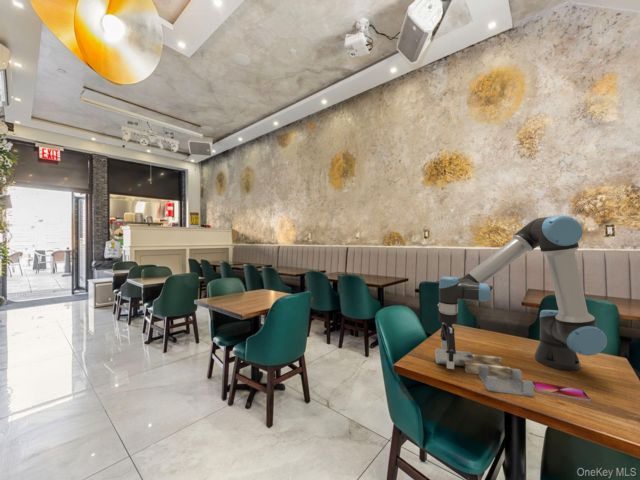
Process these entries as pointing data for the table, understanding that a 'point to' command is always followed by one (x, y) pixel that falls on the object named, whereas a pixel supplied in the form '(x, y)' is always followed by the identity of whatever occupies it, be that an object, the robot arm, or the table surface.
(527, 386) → the cradle
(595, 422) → the table surface
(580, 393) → the smartphone
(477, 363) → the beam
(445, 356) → the axle
